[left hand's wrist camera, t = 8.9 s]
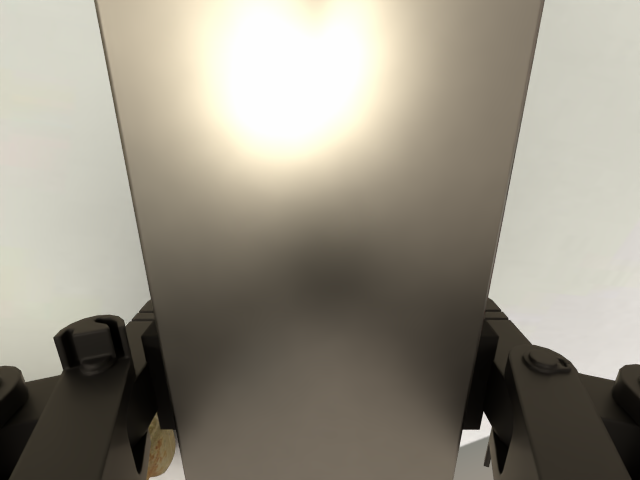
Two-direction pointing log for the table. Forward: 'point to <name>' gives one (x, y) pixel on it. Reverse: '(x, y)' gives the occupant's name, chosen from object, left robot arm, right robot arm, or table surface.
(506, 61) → the bar
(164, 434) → the sculpture
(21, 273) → the table surface
